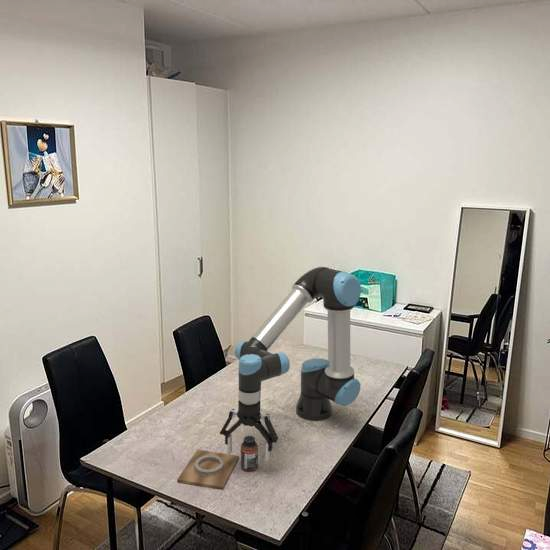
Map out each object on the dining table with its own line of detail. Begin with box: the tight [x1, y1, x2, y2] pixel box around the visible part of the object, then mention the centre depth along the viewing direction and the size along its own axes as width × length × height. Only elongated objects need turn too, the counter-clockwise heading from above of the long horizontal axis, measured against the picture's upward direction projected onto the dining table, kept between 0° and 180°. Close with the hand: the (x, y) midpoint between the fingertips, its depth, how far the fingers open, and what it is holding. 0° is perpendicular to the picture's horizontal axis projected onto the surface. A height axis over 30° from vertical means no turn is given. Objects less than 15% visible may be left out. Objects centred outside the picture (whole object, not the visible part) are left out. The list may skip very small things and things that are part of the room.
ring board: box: [176, 449, 240, 491], centre depth 178 cm, size 16×18×3 cm
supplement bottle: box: [240, 435, 259, 472], centre depth 179 cm, size 6×6×11 cm
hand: (248, 455), depth 179 cm, fingers open, 13 cm apart
